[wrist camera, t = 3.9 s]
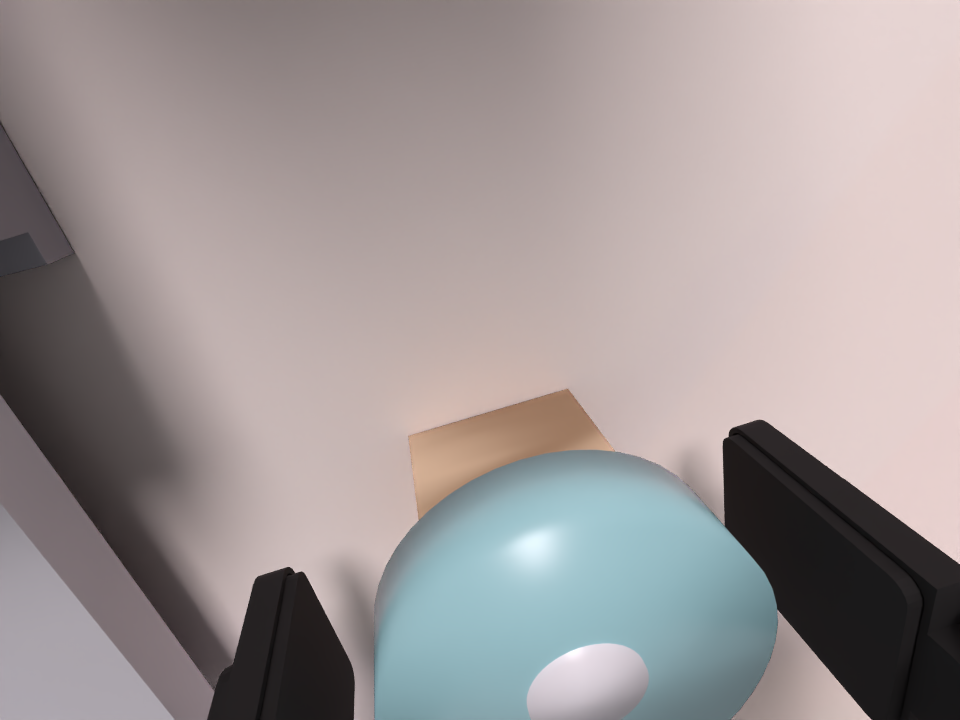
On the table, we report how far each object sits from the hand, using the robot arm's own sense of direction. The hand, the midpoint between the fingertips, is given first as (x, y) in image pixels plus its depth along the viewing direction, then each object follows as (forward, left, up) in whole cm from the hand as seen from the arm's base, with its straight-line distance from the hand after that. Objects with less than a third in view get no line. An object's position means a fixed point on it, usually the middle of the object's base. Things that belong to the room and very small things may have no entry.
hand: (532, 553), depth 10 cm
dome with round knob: (0, 0, +1) cm, 1 cm away
